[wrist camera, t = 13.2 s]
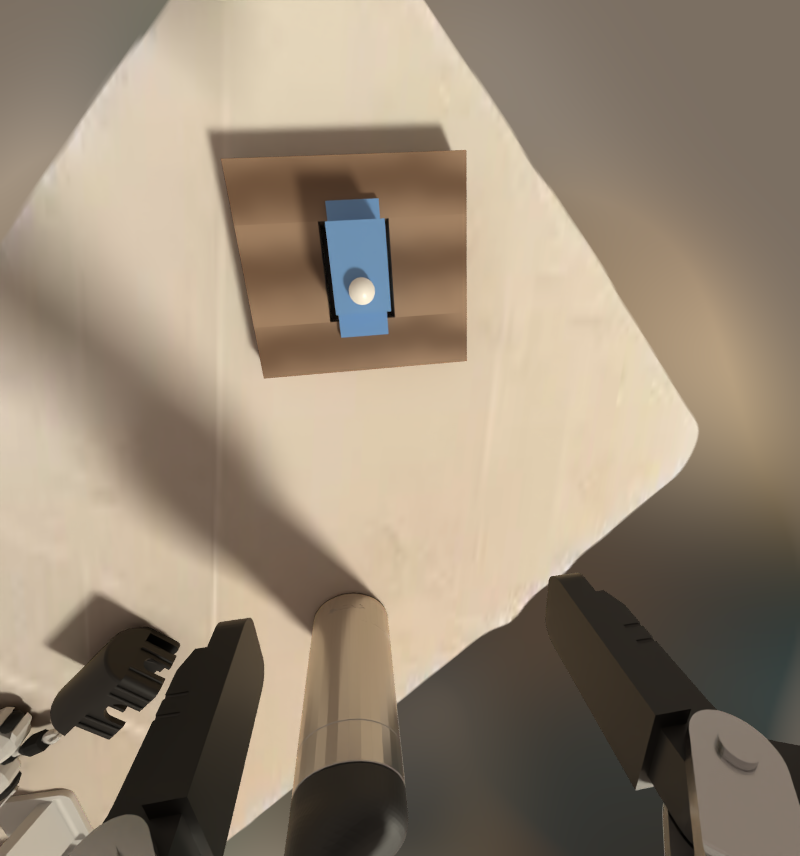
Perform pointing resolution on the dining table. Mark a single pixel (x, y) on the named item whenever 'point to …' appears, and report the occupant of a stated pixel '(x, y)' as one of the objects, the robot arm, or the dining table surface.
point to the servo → (358, 266)
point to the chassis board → (305, 263)
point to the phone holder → (43, 824)
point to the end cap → (114, 682)
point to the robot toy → (3, 738)
